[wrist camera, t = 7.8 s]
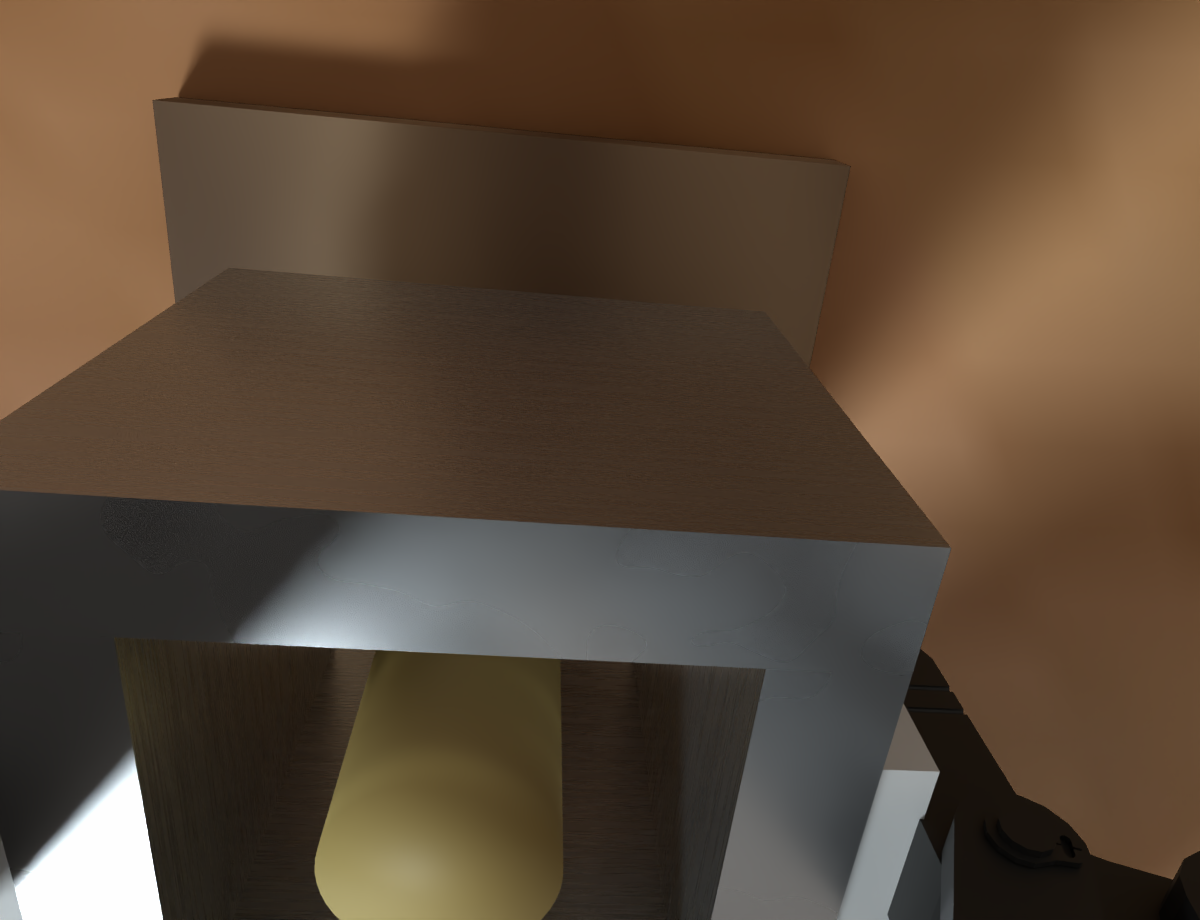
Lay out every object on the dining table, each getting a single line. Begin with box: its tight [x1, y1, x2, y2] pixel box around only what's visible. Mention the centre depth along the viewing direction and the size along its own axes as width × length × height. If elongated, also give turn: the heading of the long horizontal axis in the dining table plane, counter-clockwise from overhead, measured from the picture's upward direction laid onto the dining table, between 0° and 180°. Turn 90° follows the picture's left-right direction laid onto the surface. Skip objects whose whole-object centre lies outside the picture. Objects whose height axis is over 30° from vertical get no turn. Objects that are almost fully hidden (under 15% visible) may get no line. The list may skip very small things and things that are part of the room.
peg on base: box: [153, 97, 851, 920], centre depth 13 cm, size 12×12×11 cm
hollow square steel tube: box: [0, 268, 951, 920], centre depth 12 cm, size 8×8×7 cm
